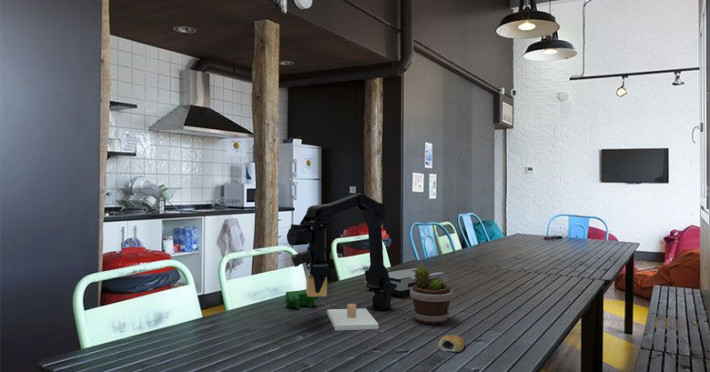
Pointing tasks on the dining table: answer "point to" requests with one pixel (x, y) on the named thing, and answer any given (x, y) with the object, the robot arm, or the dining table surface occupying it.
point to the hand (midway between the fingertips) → (316, 290)
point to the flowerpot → (430, 298)
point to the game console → (408, 280)
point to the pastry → (451, 343)
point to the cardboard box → (311, 287)
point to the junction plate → (352, 318)
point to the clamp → (299, 299)
